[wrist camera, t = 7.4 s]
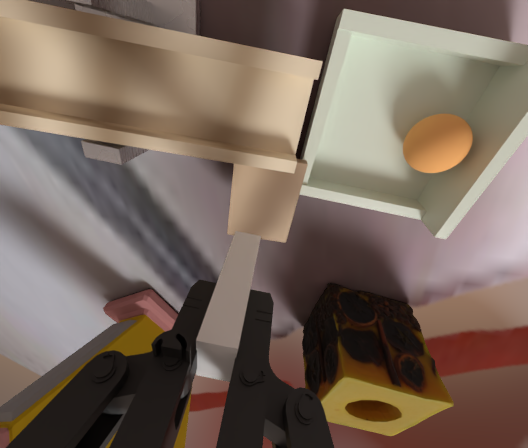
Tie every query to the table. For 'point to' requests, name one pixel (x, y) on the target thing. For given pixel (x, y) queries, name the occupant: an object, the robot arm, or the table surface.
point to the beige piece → (163, 99)
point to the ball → (437, 143)
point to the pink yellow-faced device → (114, 338)
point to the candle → (370, 363)
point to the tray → (411, 116)
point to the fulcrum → (148, 13)
